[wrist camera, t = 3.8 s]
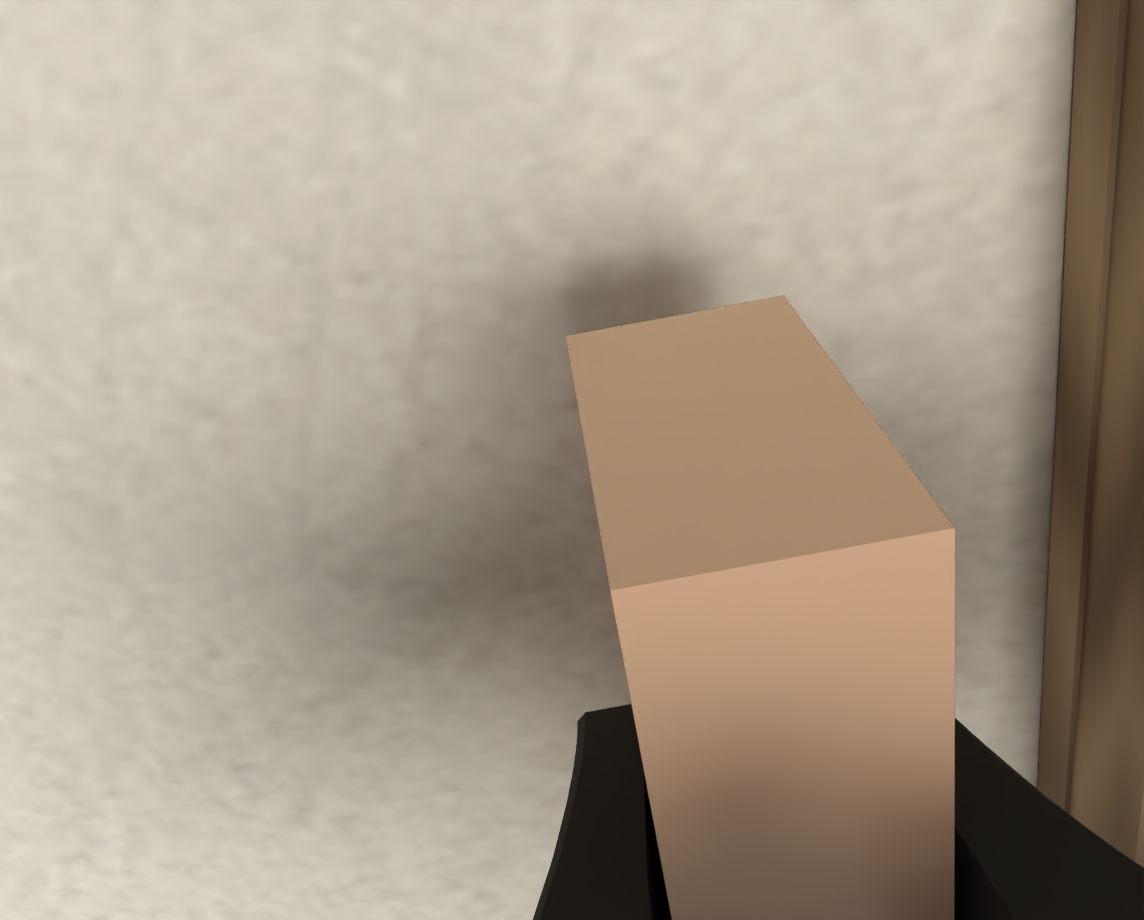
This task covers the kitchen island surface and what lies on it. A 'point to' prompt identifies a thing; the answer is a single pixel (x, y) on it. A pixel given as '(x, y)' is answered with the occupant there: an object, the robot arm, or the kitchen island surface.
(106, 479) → the kitchen island surface
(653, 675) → the peach rectangular block
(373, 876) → the kitchen island surface
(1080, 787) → the rack
